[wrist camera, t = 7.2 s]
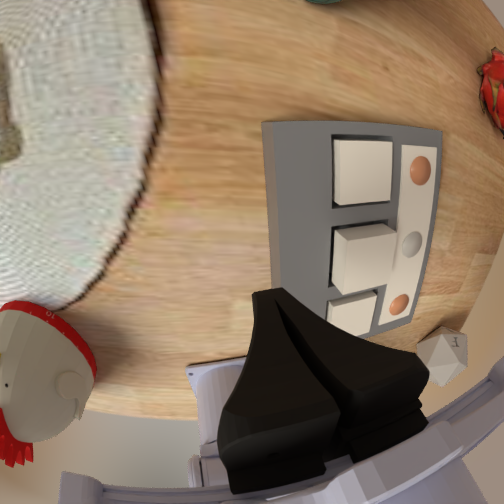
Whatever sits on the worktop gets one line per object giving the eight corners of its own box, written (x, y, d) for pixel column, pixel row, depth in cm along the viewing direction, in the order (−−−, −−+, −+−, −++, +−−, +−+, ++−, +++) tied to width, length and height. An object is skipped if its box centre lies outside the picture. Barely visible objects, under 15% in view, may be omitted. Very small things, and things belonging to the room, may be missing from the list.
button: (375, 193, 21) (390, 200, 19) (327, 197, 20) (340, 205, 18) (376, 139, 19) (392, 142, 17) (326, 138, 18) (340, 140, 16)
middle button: (376, 271, 22) (389, 283, 21) (331, 281, 22) (342, 294, 20) (382, 223, 20) (397, 232, 19) (334, 230, 20) (347, 241, 18)
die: (451, 325, 36) (485, 330, 26) (441, 374, 35) (471, 390, 25) (412, 322, 37) (443, 329, 28) (401, 375, 36) (428, 394, 27)
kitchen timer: (76, 304, 21) (22, 447, 8) (110, 394, 27) (99, 505, 14) (-19, 296, 19) (-81, 392, 5) (23, 380, 24) (-5, 469, 11)
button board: (396, 307, 29) (412, 324, 26) (274, 339, 27) (283, 363, 24) (419, 127, 20) (445, 131, 17) (261, 122, 18) (273, 121, 15)
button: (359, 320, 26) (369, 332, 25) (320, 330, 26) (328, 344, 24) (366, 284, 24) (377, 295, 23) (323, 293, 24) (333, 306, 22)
